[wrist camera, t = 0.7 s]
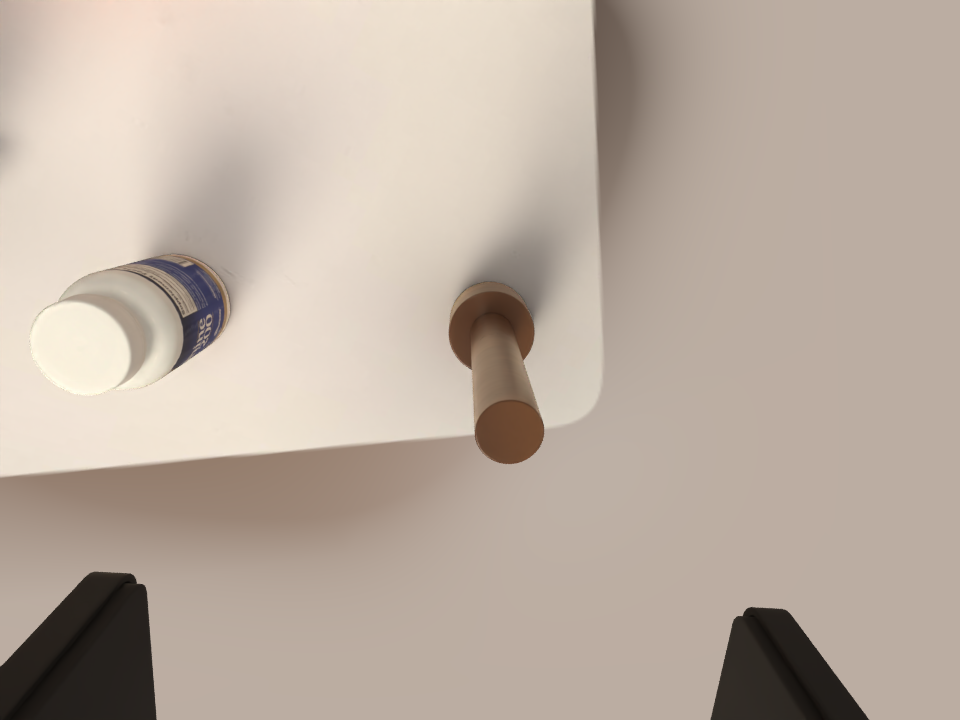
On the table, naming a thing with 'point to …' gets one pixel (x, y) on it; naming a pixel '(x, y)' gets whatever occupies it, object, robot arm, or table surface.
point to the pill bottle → (129, 324)
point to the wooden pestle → (498, 369)
